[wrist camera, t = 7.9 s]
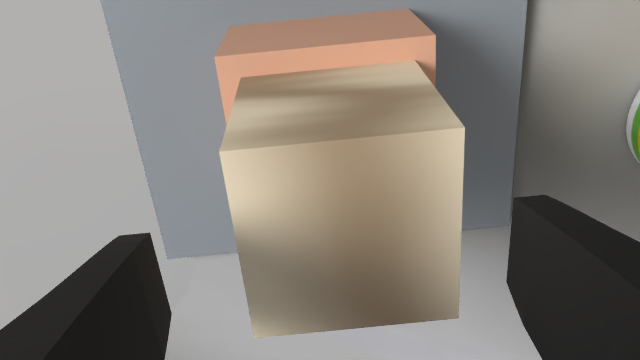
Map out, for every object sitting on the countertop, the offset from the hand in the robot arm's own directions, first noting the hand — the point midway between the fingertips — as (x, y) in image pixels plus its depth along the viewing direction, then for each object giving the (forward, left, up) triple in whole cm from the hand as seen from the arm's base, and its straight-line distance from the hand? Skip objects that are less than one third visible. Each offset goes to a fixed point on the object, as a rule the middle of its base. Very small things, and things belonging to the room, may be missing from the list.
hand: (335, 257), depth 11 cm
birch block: (0, 0, -6) cm, 6 cm away
